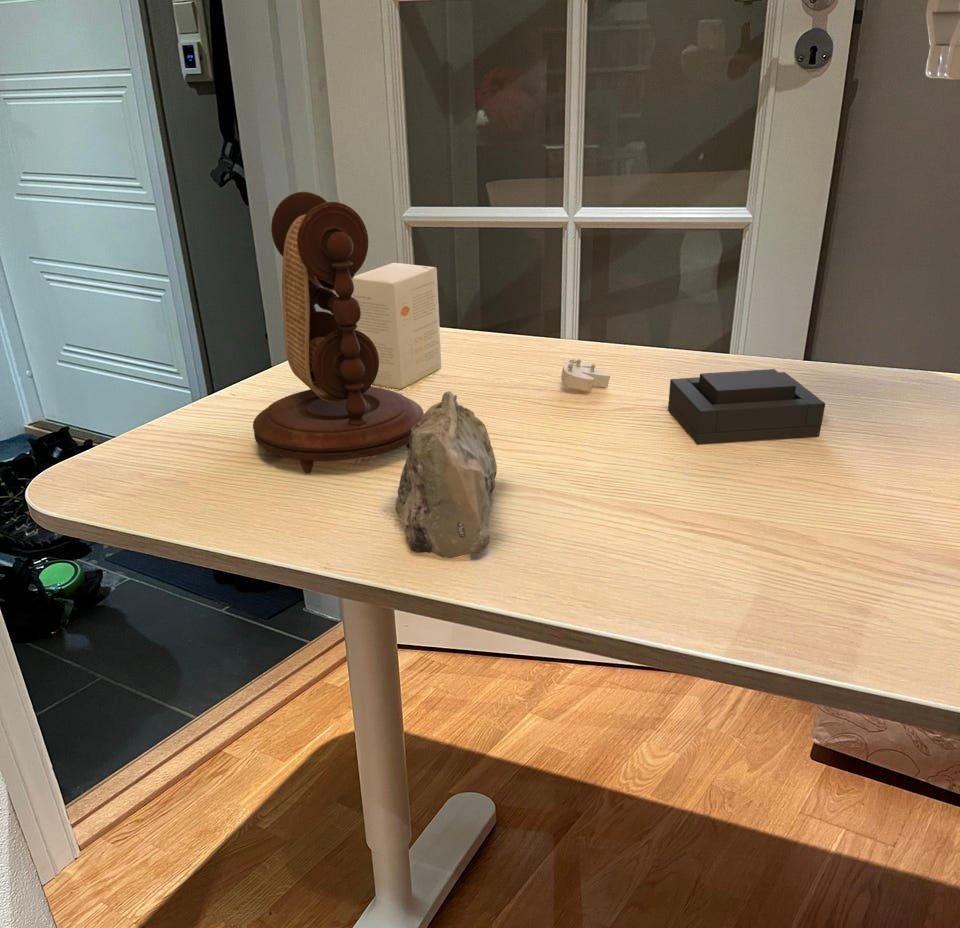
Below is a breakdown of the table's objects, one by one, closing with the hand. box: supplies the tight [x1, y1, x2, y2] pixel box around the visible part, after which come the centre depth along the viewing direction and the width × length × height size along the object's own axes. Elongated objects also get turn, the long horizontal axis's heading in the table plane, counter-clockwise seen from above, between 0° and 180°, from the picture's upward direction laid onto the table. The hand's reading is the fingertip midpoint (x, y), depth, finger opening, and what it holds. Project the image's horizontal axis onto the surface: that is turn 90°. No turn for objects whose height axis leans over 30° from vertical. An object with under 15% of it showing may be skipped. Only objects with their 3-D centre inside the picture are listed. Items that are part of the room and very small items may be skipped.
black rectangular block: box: [698, 368, 796, 405], centre depth 83 cm, size 7×5×3 cm
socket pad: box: [667, 371, 826, 446], centre depth 84 cm, size 11×9×3 cm
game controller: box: [490, 358, 611, 392], centre depth 93 cm, size 6×12×3 cm, turn 102°
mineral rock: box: [394, 390, 498, 559], centre depth 66 cm, size 13×11×10 cm
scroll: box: [252, 191, 425, 475], centre depth 77 cm, size 15×15×20 cm
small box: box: [352, 262, 442, 390], centre depth 96 cm, size 8×6×10 cm
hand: (949, 78), depth 59 cm, fingers closed
